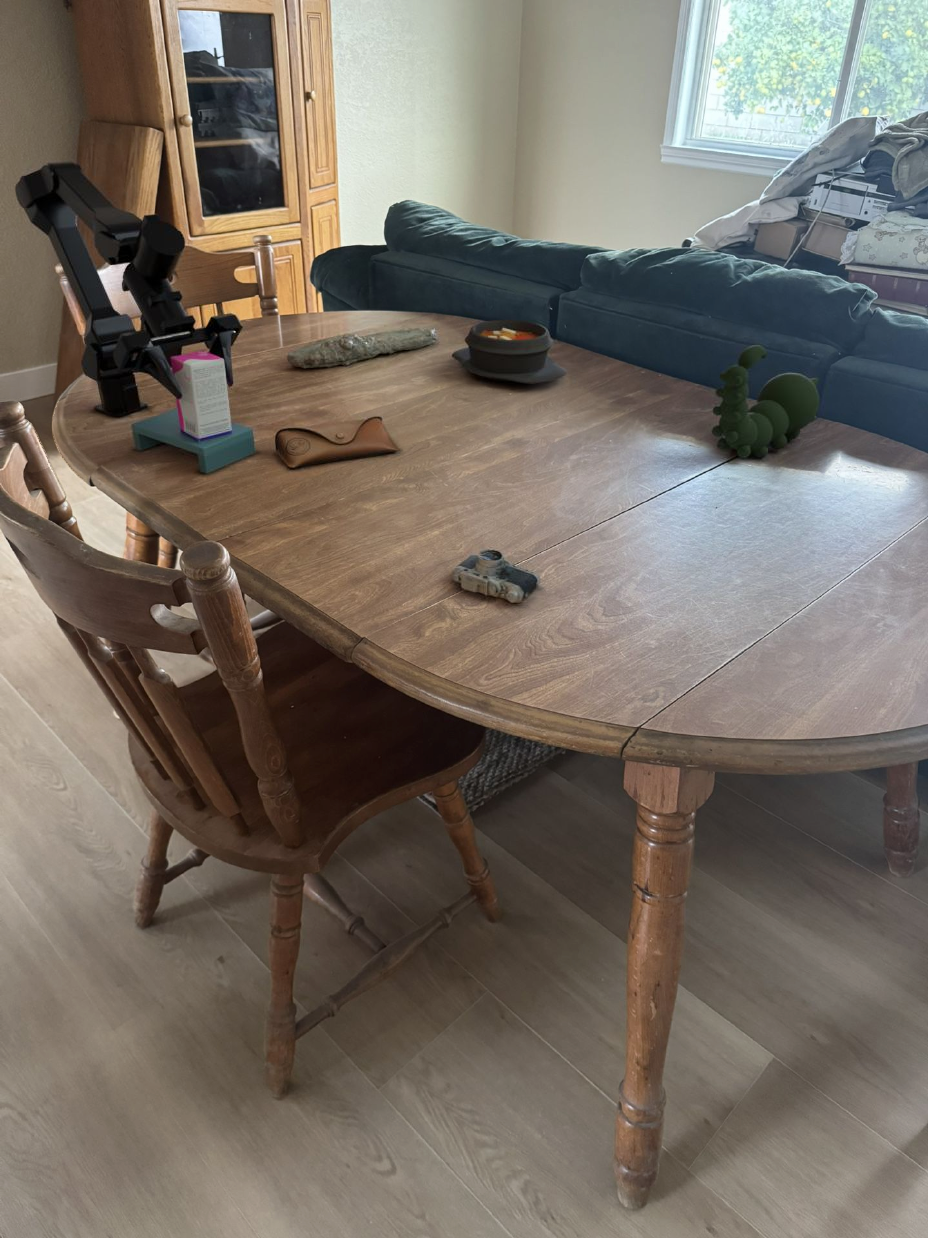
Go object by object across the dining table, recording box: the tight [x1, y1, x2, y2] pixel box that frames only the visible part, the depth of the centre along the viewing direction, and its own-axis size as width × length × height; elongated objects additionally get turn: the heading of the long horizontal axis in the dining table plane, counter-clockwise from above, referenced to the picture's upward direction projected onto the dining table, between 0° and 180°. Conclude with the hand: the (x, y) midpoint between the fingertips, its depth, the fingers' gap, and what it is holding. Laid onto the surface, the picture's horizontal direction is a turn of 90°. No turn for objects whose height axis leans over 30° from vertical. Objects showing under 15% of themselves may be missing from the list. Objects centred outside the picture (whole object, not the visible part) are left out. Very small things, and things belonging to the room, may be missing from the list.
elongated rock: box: [286, 327, 438, 369], centre depth 184 cm, size 35×5×10 cm
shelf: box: [130, 407, 256, 475], centre depth 140 cm, size 16×10×4 cm, turn 56°
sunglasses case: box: [274, 415, 399, 469], centre depth 141 cm, size 18×7×7 cm, turn 116°
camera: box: [451, 549, 541, 603], centre depth 107 cm, size 5×10×4 cm, turn 57°
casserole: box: [451, 319, 568, 385], centre depth 175 cm, size 25×19×8 cm
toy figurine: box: [711, 344, 820, 459], centre depth 143 cm, size 9×19×25 cm
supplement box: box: [171, 350, 232, 442], centre depth 134 cm, size 6×6×12 cm
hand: (206, 391), depth 132 cm, fingers open, 8 cm apart
